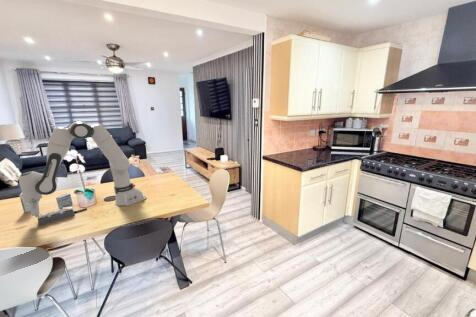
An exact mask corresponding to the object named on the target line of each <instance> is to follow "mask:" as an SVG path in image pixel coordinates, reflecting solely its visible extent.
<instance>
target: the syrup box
mask: <svg viewBox="0 0 476 317" xmlns="http://www.w3.org/2000/svg"><path fill="white" fill-rule="evenodd" d="M18 196H19V199H20V202H21V203H20V204H21V205H22V210H23V213H31V210H30V204H28V203H27V202H24V200H23V196H22V192H21V193H20V194H19V195H18Z"/></svg>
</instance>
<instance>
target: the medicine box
mask: <svg viewBox="0 0 476 317" xmlns="http://www.w3.org/2000/svg"><path fill="white" fill-rule="evenodd" d="M71 195H72V194H71V193H65V194H63V195H59V196H57V197H55V199H56V204H57V207H58V208H57V209H63V207H71V205H74V204H73V200H72V196H71Z"/></svg>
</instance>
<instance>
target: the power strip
mask: <svg viewBox="0 0 476 317" xmlns="http://www.w3.org/2000/svg"><path fill="white" fill-rule="evenodd" d="M70 207H72V208H73V206H71V205H70ZM59 209H60V212H58V213H57V214H54V215H52V216H51V214H50V212H51V211H49V212H48V215H47V216H45V217H44V218H39V219H38V218H37V222H38V226H43V225H46V223H47V224H51V223H53V221H54V222H57V221H60V220H64V219H66V218H70V217H74V216H75V214H76V213H80V212H83V211H87V210H88V208H87V207H85V208H82V209H79V210H75V211H74V208H73V209H72V210H69V211H66V210H64V211H63V209H62V208H59Z"/></svg>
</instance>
